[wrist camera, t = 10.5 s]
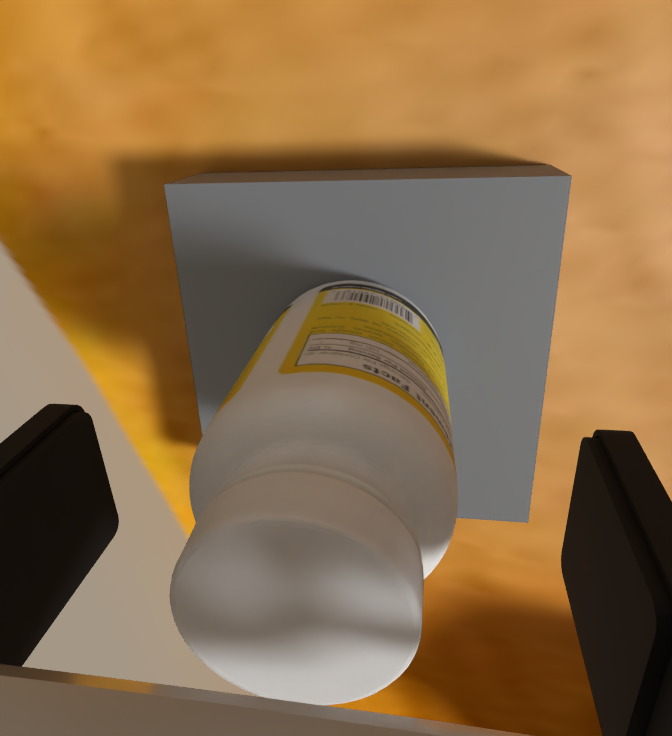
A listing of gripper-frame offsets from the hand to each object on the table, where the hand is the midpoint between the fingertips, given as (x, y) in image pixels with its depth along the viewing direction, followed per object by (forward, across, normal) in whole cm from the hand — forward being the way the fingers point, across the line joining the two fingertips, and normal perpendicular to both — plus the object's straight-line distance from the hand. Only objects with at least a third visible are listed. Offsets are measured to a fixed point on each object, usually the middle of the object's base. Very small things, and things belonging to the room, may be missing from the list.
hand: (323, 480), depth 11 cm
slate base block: (+10, 0, +1) cm, 10 cm away
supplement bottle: (+7, 0, +1) cm, 7 cm away
